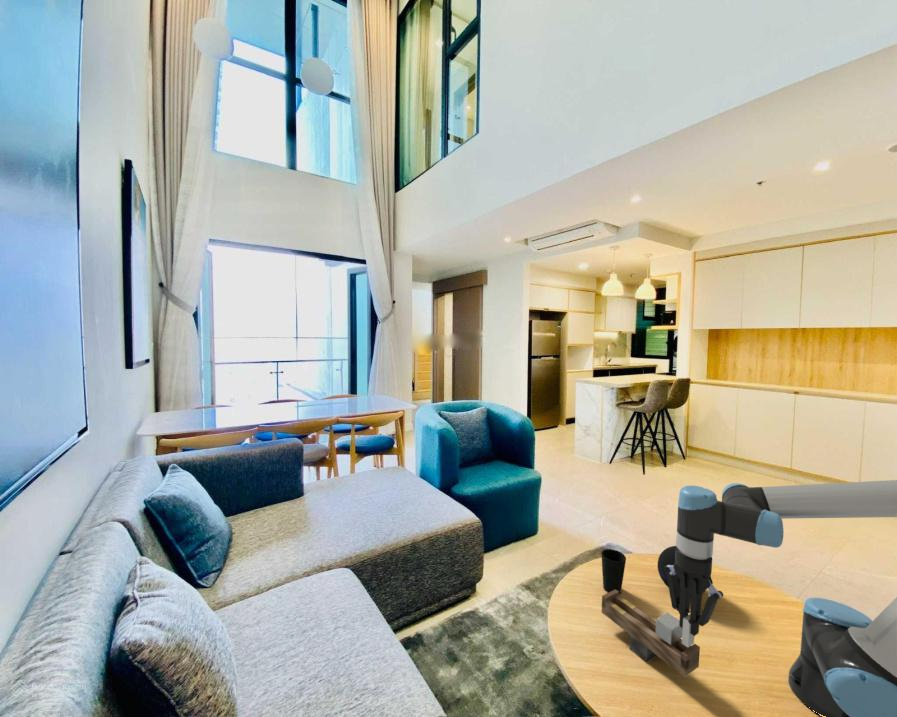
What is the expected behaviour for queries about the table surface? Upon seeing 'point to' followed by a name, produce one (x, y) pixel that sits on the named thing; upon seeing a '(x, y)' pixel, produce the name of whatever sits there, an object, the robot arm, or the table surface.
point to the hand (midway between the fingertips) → (687, 643)
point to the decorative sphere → (667, 563)
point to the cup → (612, 569)
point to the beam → (648, 635)
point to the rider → (669, 629)
